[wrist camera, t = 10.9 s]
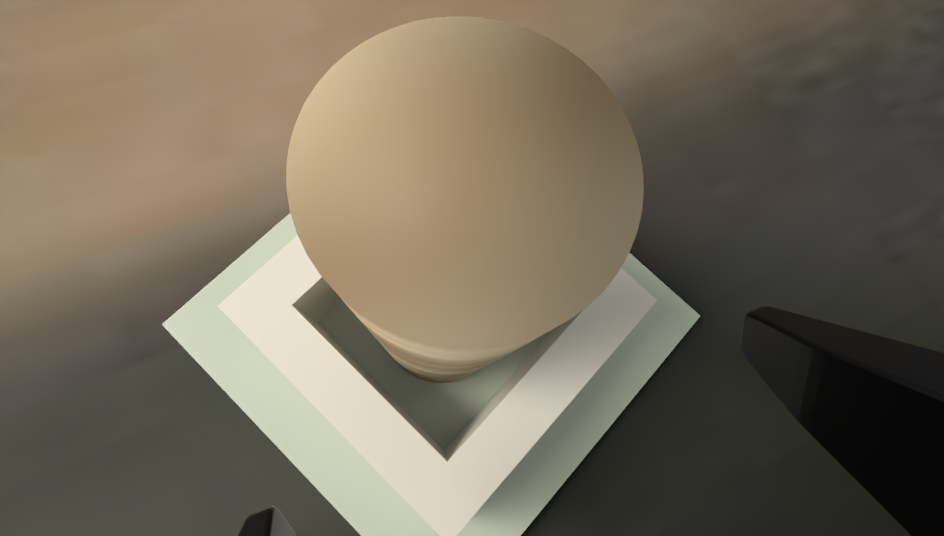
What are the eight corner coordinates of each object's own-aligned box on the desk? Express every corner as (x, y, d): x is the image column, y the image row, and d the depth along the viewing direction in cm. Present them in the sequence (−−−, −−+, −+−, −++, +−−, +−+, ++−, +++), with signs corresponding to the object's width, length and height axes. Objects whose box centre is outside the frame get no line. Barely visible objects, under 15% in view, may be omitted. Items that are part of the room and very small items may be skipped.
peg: (525, 319, 19) (711, 169, 7) (443, 408, 18) (477, 432, 6) (441, 240, 20) (463, -40, 7) (356, 322, 19) (206, 165, 6)
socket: (692, 318, 20) (756, 299, 16) (446, 618, 17) (450, 685, 13) (439, 91, 22) (440, 24, 18) (170, 326, 19) (99, 307, 15)
